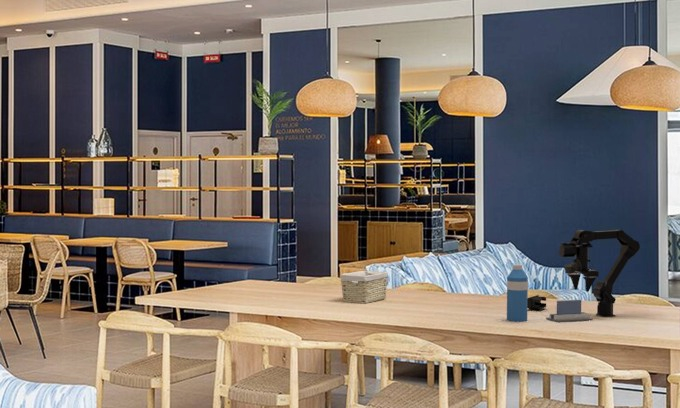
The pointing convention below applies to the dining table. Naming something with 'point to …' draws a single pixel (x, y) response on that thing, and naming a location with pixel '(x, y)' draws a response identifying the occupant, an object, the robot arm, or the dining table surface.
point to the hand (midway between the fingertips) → (581, 290)
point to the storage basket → (364, 286)
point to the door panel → (569, 307)
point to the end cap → (536, 303)
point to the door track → (569, 317)
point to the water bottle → (517, 295)
